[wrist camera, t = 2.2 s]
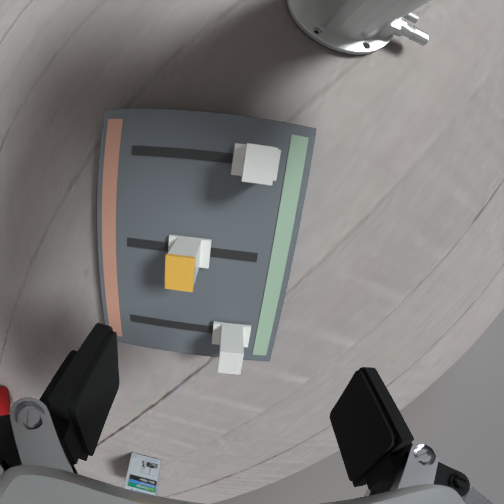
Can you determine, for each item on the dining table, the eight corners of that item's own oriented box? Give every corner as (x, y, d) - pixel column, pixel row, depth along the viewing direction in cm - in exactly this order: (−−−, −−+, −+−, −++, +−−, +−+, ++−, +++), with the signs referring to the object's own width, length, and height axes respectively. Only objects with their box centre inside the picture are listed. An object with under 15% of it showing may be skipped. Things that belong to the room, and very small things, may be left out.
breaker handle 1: (251, 325, 30) (253, 354, 25) (247, 345, 31) (249, 375, 26) (213, 321, 30) (210, 350, 25) (211, 341, 31) (208, 371, 26)
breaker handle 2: (280, 149, 24) (290, 149, 19) (275, 180, 25) (284, 187, 20) (235, 143, 24) (234, 141, 19) (230, 174, 25) (229, 179, 20)
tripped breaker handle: (211, 238, 27) (206, 260, 22) (208, 267, 28) (203, 293, 23) (169, 233, 26) (155, 253, 21) (168, 262, 27) (154, 287, 22)
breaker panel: (308, 130, 27) (316, 128, 24) (267, 346, 35) (269, 362, 32) (116, 112, 25) (104, 109, 22) (115, 325, 33) (107, 339, 31)
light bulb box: (131, 451, 45) (121, 490, 35) (161, 459, 46) (155, 499, 36) (133, 468, 49) (125, 503, 38) (160, 475, 49) (154, 511, 39)
